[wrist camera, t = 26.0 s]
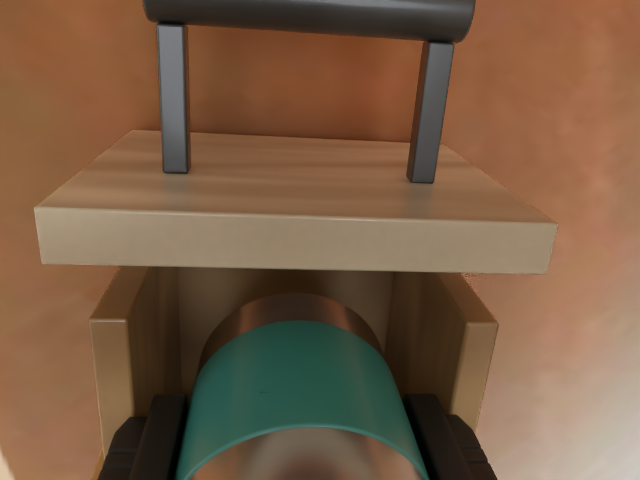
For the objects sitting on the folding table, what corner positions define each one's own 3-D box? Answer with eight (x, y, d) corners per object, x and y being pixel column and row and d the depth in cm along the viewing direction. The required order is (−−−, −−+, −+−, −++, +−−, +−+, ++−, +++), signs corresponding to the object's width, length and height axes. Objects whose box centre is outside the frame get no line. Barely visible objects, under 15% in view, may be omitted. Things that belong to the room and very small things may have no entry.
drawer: (119, -35, 15) (-9, -84, 8) (468, -7, 17) (622, -29, 9) (152, 456, 22) (97, 664, 15) (397, 452, 23) (456, 644, 16)
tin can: (194, 288, 14) (136, 498, 8) (395, 291, 14) (489, 490, 8) (198, 449, 16) (154, 717, 10) (375, 446, 16) (438, 698, 10)
